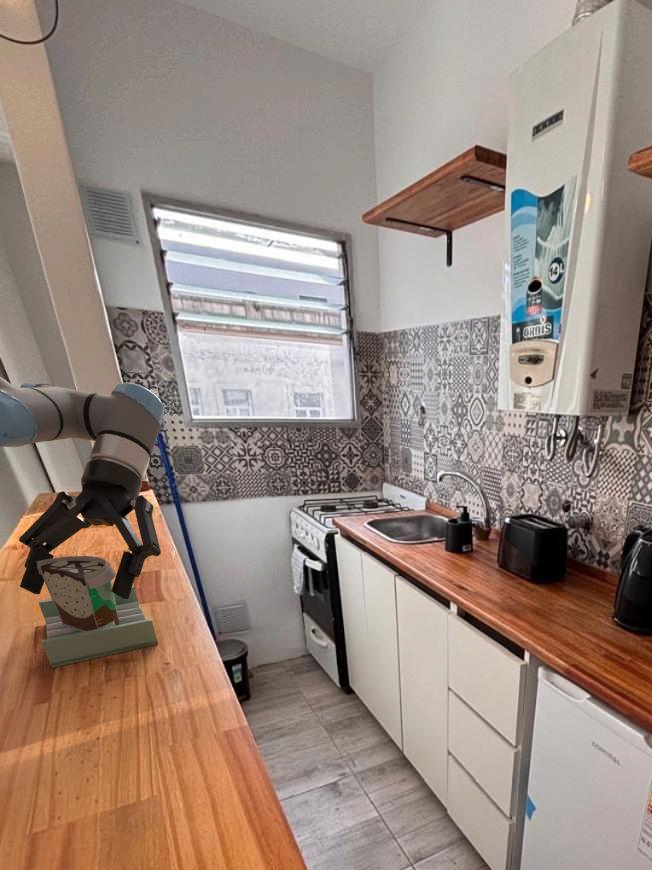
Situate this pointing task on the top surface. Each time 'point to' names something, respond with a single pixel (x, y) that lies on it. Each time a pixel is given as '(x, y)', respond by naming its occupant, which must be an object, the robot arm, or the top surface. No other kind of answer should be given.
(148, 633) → the dish rack
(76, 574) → the food container
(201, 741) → the top surface
